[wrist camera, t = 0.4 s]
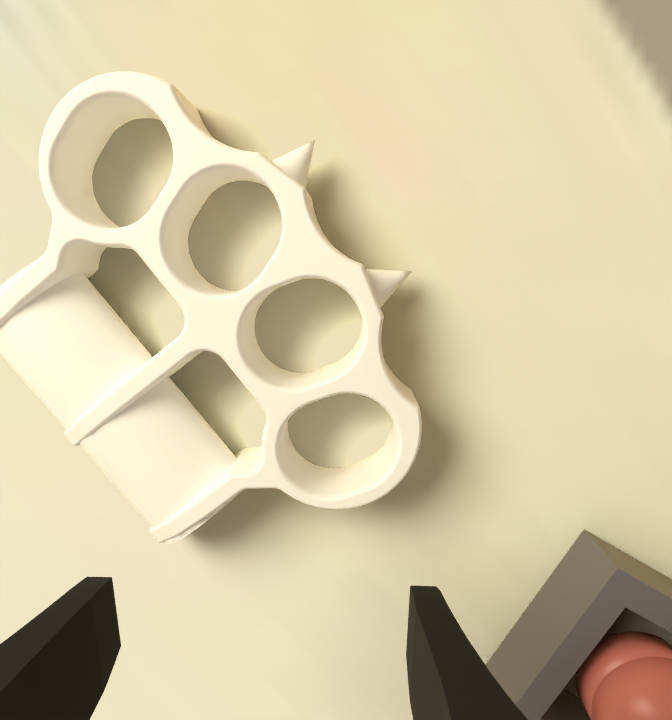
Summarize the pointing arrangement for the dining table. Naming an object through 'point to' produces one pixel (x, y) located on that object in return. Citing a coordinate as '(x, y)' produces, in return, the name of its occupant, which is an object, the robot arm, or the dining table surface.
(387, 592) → the dining table surface
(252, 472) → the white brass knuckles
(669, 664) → the salmon ball
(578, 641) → the dome housing
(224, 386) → the dining table surface
